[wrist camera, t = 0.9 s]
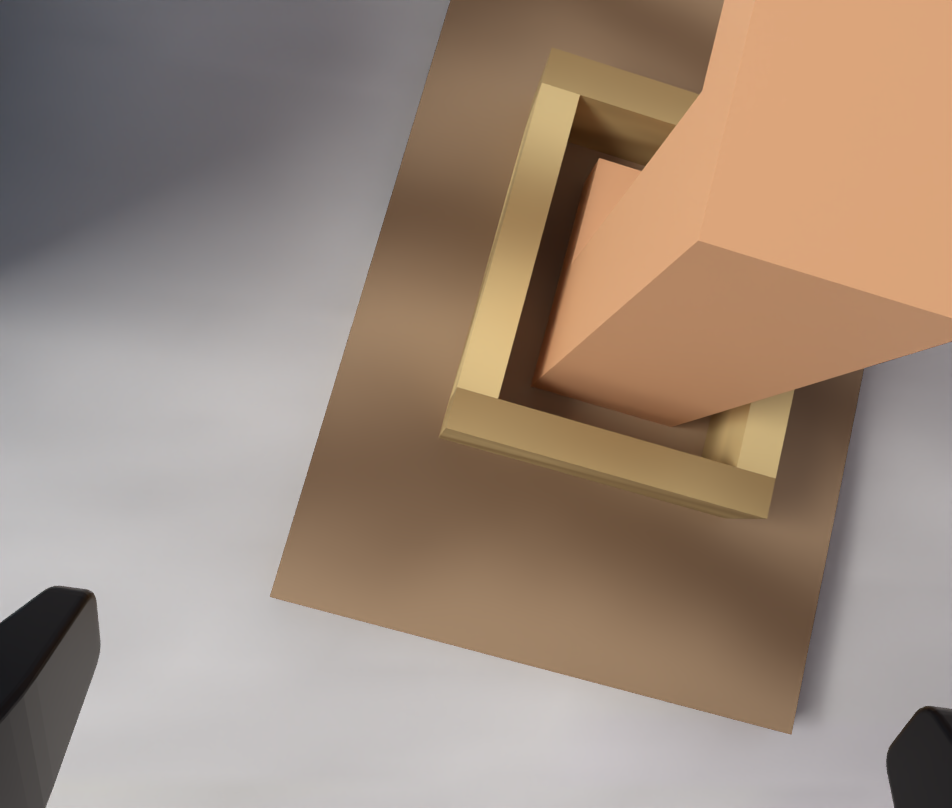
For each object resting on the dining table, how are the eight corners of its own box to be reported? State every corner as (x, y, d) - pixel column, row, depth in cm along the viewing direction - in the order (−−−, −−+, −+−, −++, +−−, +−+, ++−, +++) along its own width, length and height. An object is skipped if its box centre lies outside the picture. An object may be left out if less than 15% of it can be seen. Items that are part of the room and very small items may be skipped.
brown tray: (773, 725, 23) (843, 762, 19) (274, 593, 22) (254, 607, 18) (904, 75, 26) (985, 7, 22) (474, -67, 25) (488, -160, 21)
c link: (671, 427, 23) (990, 329, 11) (530, 386, 22) (698, 239, 10) (718, 223, 24) (1059, -72, 12) (584, 182, 23) (794, -163, 11)
